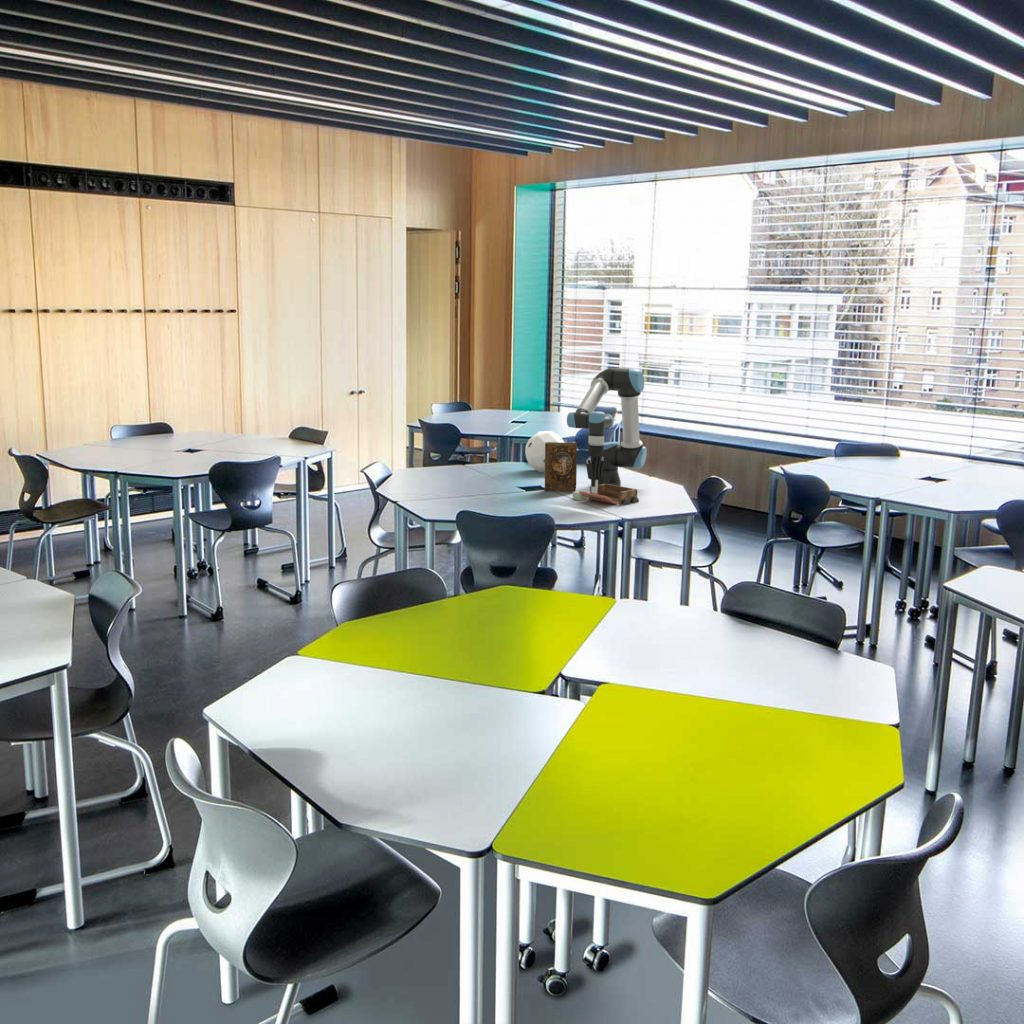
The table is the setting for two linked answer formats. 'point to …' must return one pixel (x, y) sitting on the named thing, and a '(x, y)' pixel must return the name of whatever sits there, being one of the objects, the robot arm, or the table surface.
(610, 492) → the wooden toy wagon
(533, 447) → the geometric sculpture
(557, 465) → the book
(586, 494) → the tailgate
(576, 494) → the block
